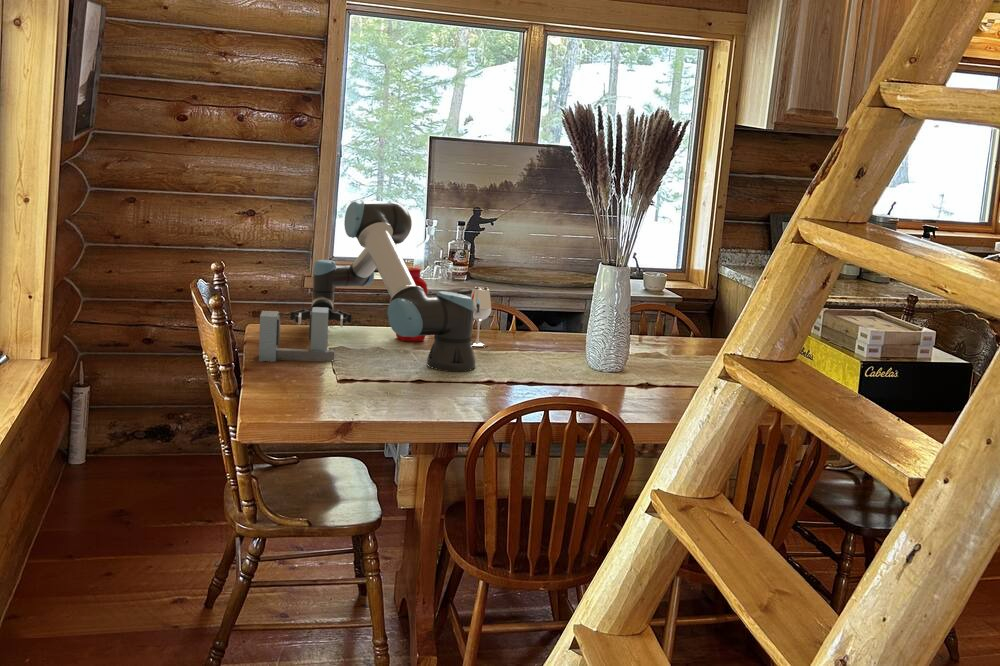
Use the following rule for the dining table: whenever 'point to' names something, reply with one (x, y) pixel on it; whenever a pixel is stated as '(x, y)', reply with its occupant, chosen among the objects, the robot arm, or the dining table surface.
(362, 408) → the dining table surface
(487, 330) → the dining table surface
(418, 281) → the water bottle
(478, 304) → the wineglass
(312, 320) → the tall grey-blue pillar
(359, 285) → the robot arm
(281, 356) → the grey l-shaped block
